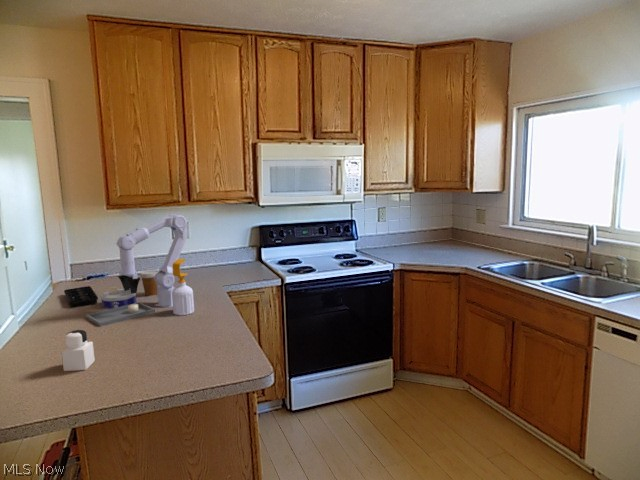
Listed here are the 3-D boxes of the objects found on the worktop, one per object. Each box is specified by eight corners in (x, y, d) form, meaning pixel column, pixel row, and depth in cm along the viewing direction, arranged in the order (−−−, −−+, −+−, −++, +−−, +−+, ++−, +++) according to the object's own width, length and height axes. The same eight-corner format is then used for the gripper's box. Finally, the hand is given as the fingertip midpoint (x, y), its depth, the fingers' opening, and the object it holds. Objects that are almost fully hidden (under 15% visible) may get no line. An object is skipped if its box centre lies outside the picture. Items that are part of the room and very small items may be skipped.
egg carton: (72, 310, 209) (71, 302, 208) (52, 298, 229) (51, 291, 229) (110, 301, 222) (109, 294, 221) (88, 291, 242) (87, 284, 241)
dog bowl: (102, 311, 205) (101, 299, 204) (101, 303, 219) (100, 291, 218) (137, 306, 212) (136, 294, 211) (135, 298, 225) (133, 287, 224)
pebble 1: (116, 292, 216) (116, 285, 215) (120, 293, 213) (119, 287, 212) (107, 294, 213) (106, 287, 212) (111, 295, 210) (110, 289, 209)
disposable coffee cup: (138, 296, 229) (135, 273, 227) (151, 291, 237) (149, 269, 236) (152, 297, 225) (150, 275, 223) (165, 292, 234) (163, 270, 232)
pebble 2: (136, 309, 205) (135, 303, 204) (140, 311, 201) (139, 305, 201) (126, 312, 201) (126, 305, 201) (130, 314, 198) (130, 307, 198)
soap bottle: (198, 310, 203) (194, 258, 199) (184, 316, 195) (180, 262, 191) (183, 308, 207) (179, 257, 203) (169, 314, 198) (164, 261, 194)
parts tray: (139, 306, 212) (139, 302, 211) (155, 313, 201) (155, 308, 200) (86, 319, 195) (85, 314, 194) (100, 327, 184) (99, 322, 183)
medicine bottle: (73, 362, 151) (69, 328, 149) (95, 361, 151) (91, 327, 149) (63, 371, 144) (59, 336, 142) (86, 370, 144) (82, 335, 142)
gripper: (112, 261, 201) (115, 290, 203) (125, 266, 191) (128, 296, 193) (127, 259, 206) (130, 287, 208) (141, 263, 196) (143, 293, 198)
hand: (130, 291), depth 201 cm, fingers open, 7 cm apart
